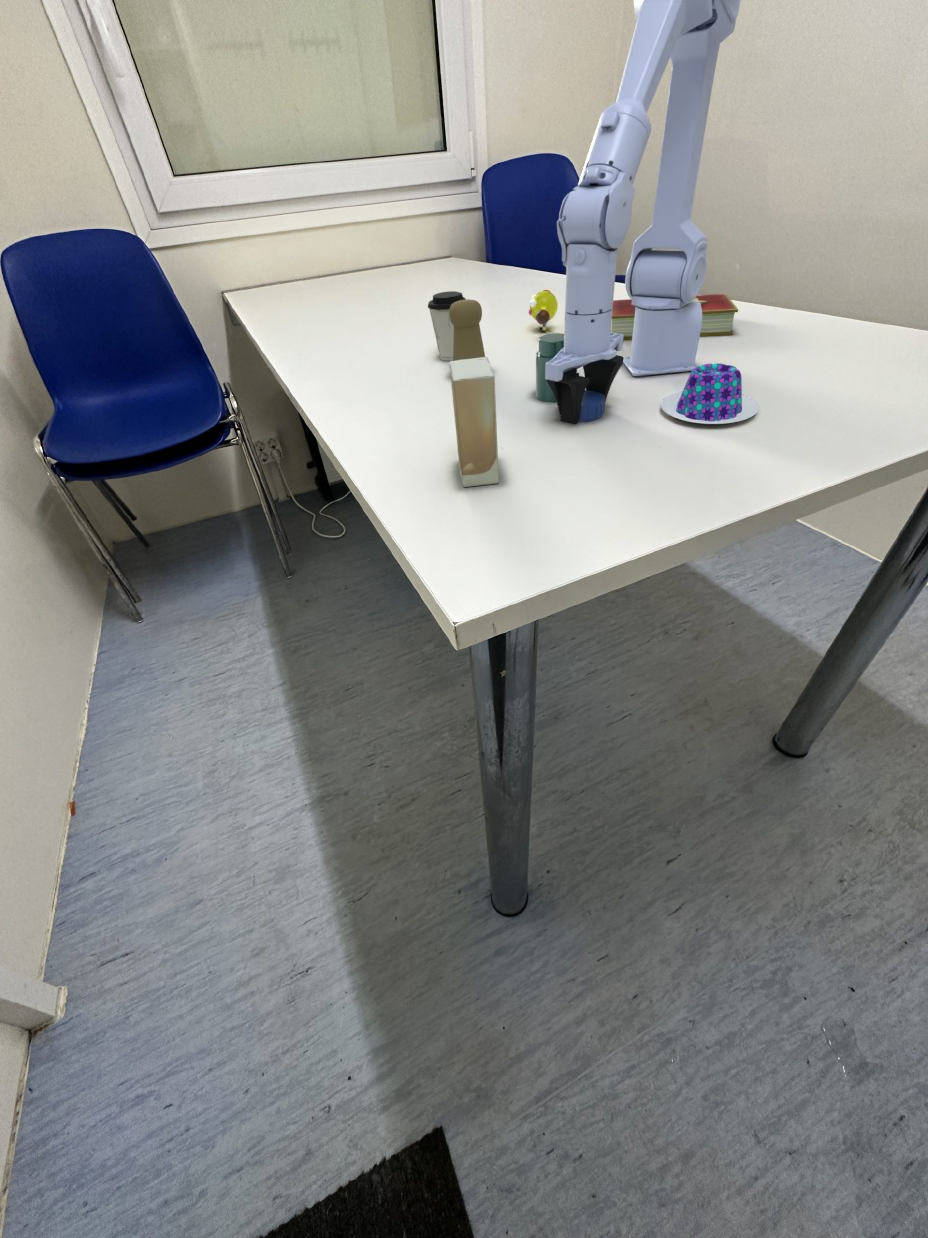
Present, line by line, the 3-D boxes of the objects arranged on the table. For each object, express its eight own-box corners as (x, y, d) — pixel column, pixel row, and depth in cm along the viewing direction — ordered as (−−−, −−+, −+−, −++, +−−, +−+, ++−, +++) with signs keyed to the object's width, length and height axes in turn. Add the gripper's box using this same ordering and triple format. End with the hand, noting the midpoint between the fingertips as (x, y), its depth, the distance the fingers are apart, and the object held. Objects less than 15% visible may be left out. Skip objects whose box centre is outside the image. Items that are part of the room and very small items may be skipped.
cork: (484, 380, 89) (480, 304, 81) (448, 381, 90) (441, 306, 83) (491, 367, 93) (487, 294, 86) (456, 368, 94) (450, 296, 87)
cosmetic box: (458, 464, 67) (448, 359, 59) (493, 460, 67) (487, 354, 59) (462, 489, 62) (451, 378, 54) (500, 484, 62) (494, 373, 54)
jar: (565, 387, 83) (567, 330, 78) (572, 399, 79) (575, 340, 74) (533, 391, 83) (532, 334, 78) (539, 403, 79) (539, 344, 74)
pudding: (726, 389, 77) (735, 349, 74) (776, 420, 68) (789, 377, 65) (645, 401, 76) (650, 362, 73) (685, 435, 67) (693, 392, 64)
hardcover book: (607, 322, 107) (609, 298, 104) (720, 316, 103) (725, 291, 101) (608, 340, 99) (610, 314, 96) (732, 334, 95) (738, 307, 92)
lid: (562, 422, 73) (563, 406, 72) (560, 406, 78) (561, 391, 76) (605, 420, 73) (607, 404, 71) (601, 404, 77) (602, 388, 75)
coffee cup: (427, 361, 99) (419, 299, 92) (443, 350, 103) (436, 289, 97) (462, 363, 96) (457, 299, 90) (476, 350, 101) (472, 289, 94)
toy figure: (531, 319, 114) (530, 281, 110) (557, 317, 113) (558, 279, 109) (526, 344, 101) (525, 303, 97) (556, 343, 100) (557, 301, 96)
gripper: (581, 327, 61) (575, 444, 70) (648, 298, 68) (635, 407, 77) (531, 321, 65) (532, 432, 74) (600, 294, 72) (593, 398, 81)
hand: (582, 418), depth 76 cm, fingers closed on lid, 5 cm apart
